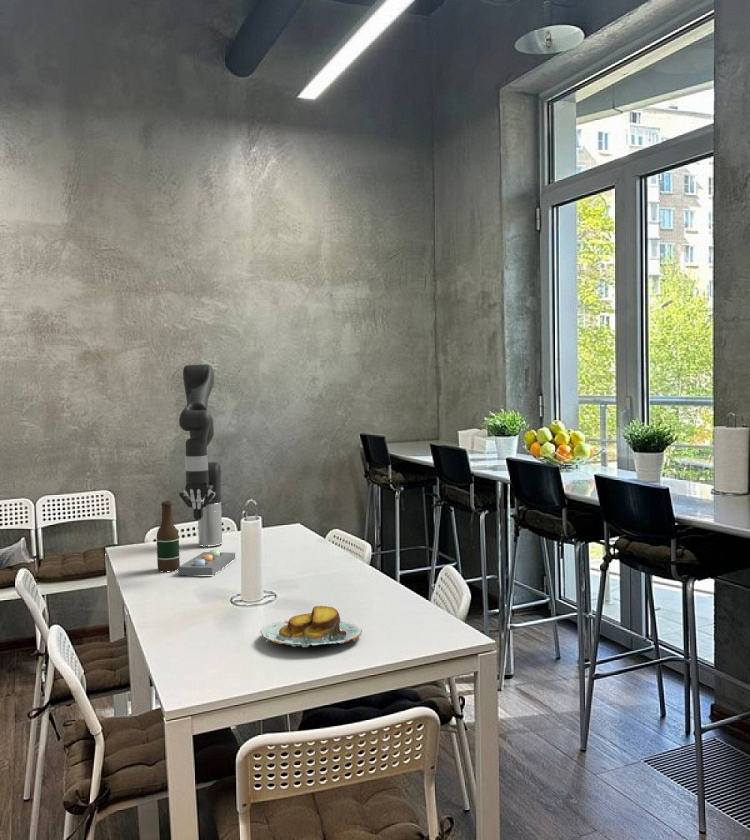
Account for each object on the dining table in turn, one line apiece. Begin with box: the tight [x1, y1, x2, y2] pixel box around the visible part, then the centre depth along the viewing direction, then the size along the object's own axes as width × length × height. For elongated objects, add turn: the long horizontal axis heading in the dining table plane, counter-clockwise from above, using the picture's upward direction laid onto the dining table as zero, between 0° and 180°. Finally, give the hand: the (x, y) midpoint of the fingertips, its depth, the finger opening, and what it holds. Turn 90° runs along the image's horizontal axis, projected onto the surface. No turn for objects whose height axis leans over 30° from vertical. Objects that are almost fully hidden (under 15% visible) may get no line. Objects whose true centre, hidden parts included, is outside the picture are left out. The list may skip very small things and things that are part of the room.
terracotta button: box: [202, 554, 213, 561], centre depth 269 cm, size 4×4×3 cm
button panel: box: [177, 551, 236, 576], centre depth 269 cm, size 22×12×3 cm, turn 171°
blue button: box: [194, 559, 205, 566], centre depth 262 cm, size 4×4×3 cm
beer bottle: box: [156, 500, 181, 573], centre depth 267 cm, size 8×8×24 cm
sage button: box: [209, 549, 221, 557], centre depth 275 cm, size 4×4×3 cm
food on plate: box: [260, 605, 363, 648], centre depth 194 cm, size 25×25×7 cm
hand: (198, 519), depth 261 cm, fingers closed
